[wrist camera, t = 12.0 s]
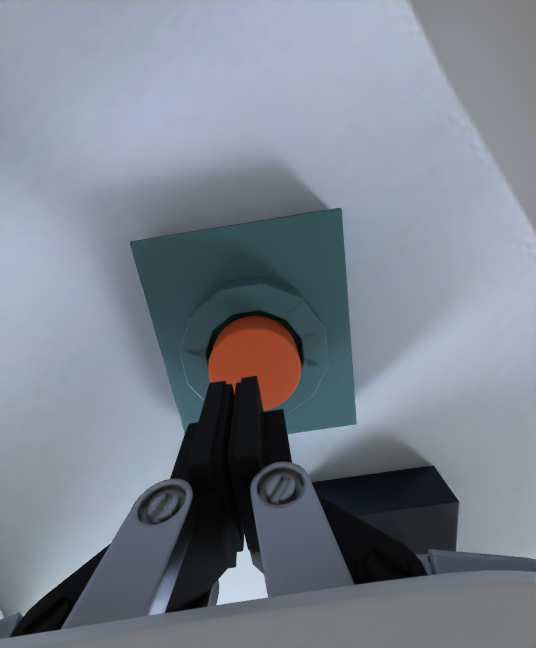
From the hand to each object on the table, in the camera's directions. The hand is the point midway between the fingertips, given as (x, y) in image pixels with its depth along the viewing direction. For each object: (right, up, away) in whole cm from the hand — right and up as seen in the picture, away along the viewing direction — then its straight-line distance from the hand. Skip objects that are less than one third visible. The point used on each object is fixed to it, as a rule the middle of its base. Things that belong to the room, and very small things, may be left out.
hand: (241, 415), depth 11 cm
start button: (0, +2, +4) cm, 4 cm away
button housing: (0, +3, +7) cm, 8 cm away
